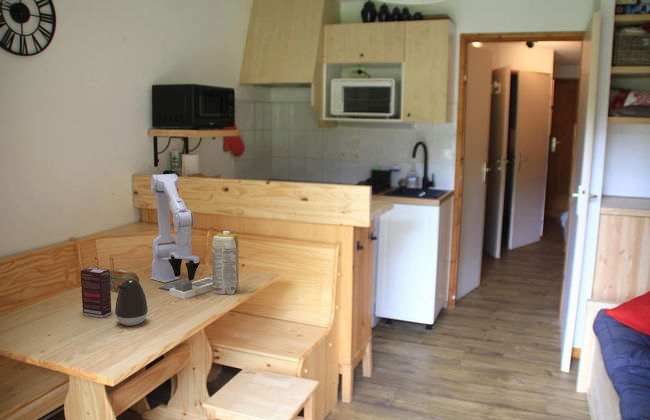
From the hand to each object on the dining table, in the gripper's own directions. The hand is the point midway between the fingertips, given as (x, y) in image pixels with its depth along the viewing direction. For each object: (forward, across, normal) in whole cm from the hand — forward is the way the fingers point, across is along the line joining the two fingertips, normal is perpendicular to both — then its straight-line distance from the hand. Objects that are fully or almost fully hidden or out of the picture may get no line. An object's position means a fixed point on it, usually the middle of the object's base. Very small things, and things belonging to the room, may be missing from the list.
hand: (184, 278), depth 218 cm
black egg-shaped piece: (+7, +9, -31) cm, 33 cm away
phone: (+7, -11, +6) cm, 14 cm away
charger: (+7, 0, 0) cm, 7 cm away
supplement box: (+7, -7, -33) cm, 34 cm away
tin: (+7, -21, -12) cm, 25 cm away
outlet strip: (+7, 0, +8) cm, 10 cm away
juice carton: (+7, +10, +12) cm, 17 cm away
